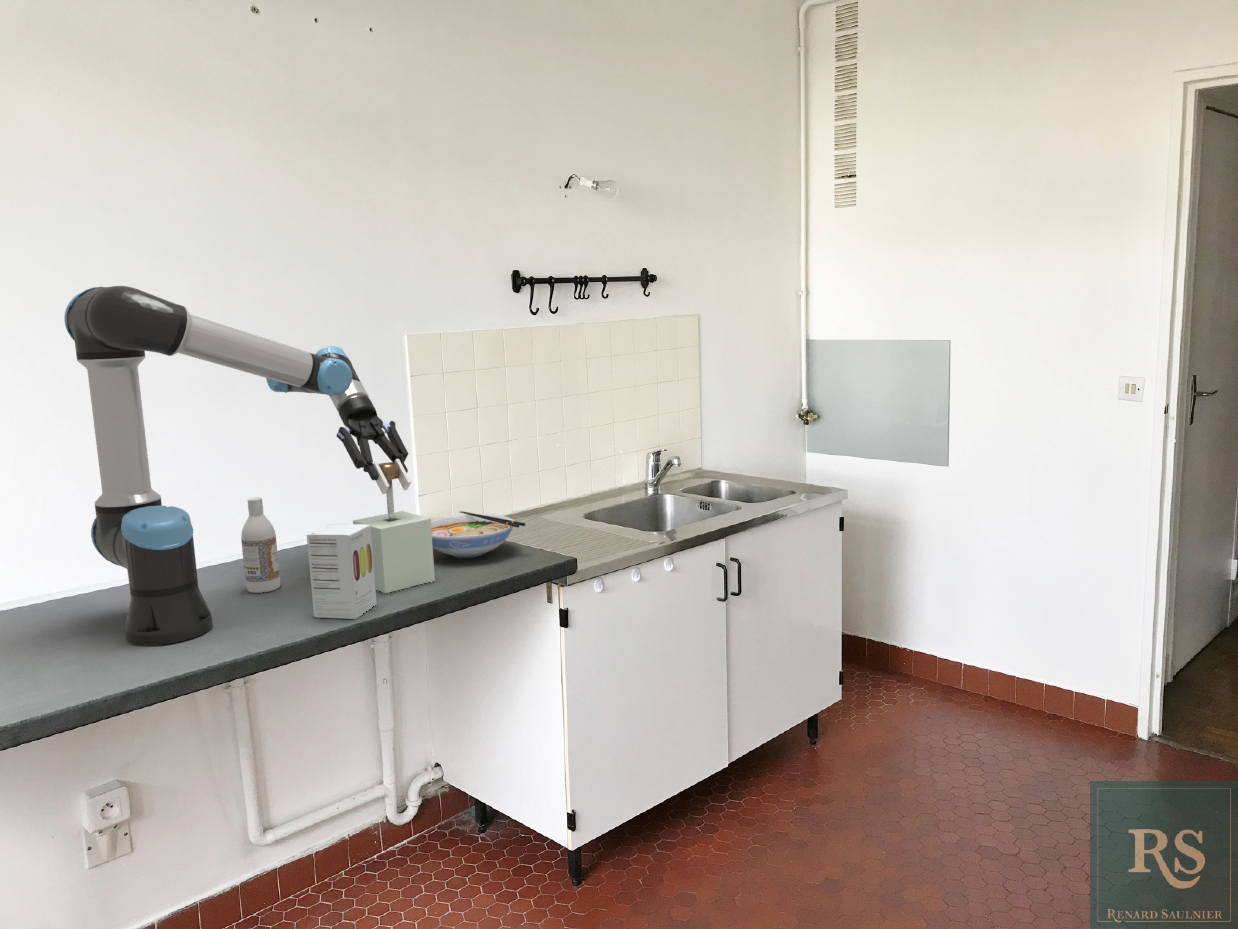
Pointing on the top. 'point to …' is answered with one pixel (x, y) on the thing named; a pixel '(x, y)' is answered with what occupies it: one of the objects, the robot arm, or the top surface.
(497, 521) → the ramen bowl
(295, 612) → the top surface
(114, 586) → the top surface
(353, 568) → the supplement box
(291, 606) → the top surface
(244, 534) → the bath foam
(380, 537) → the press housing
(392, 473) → the plunger
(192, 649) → the top surface
